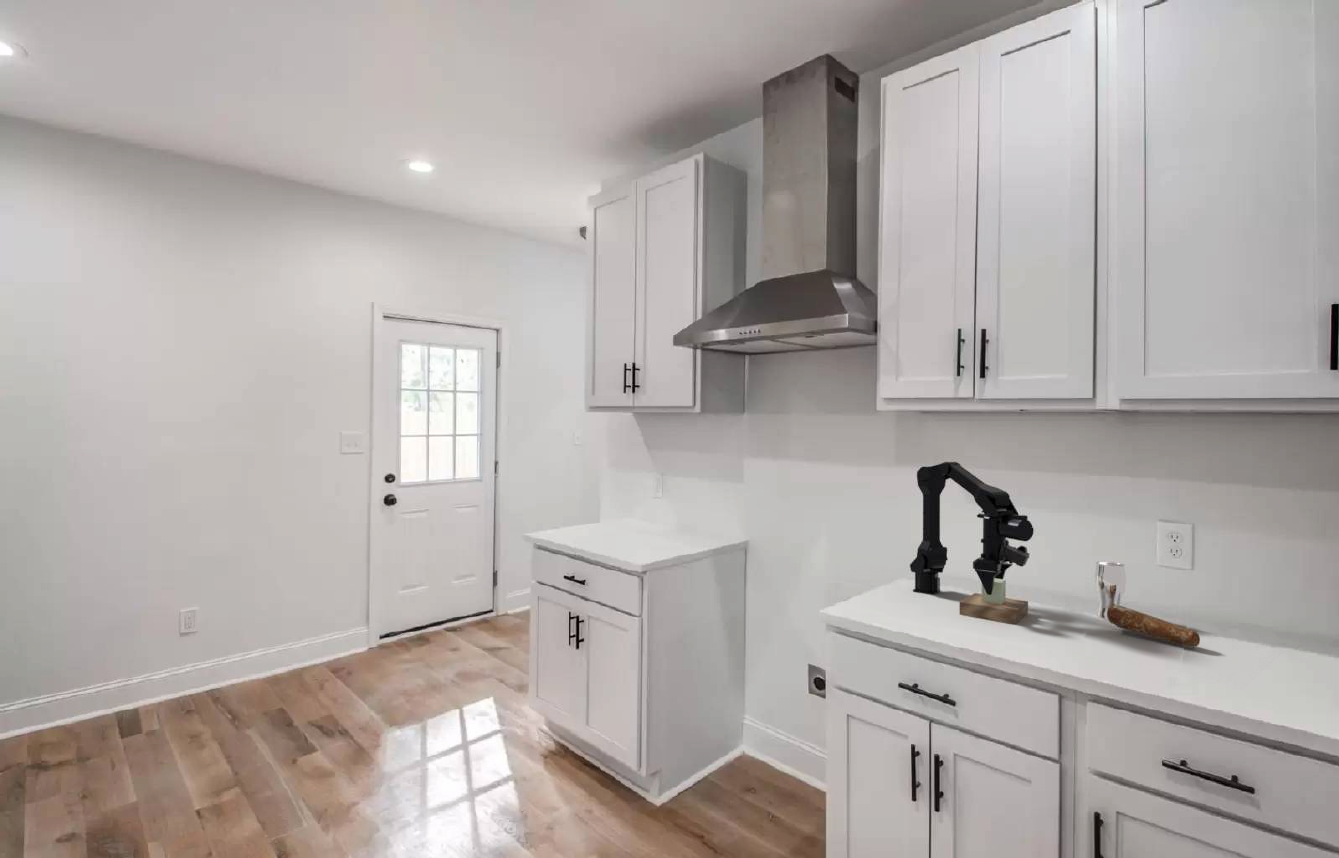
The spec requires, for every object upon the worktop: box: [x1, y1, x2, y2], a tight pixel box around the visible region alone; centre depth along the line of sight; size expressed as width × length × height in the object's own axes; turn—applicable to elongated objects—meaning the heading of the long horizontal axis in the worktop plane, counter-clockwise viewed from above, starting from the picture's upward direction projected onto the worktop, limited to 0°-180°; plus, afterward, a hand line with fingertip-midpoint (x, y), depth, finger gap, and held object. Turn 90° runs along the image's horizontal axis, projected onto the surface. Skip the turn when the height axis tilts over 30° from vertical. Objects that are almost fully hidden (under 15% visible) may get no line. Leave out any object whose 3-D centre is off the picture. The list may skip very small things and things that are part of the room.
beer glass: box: [1094, 561, 1127, 621], centre depth 178 cm, size 7×7×15 cm
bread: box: [1107, 604, 1201, 647], centre depth 160 cm, size 6×19×6 cm, turn 33°
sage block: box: [981, 578, 1007, 605], centre depth 181 cm, size 5×5×6 cm
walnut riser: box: [959, 592, 1029, 625], centre depth 181 cm, size 14×14×4 cm
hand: (993, 591), depth 181 cm, fingers open, 9 cm apart
